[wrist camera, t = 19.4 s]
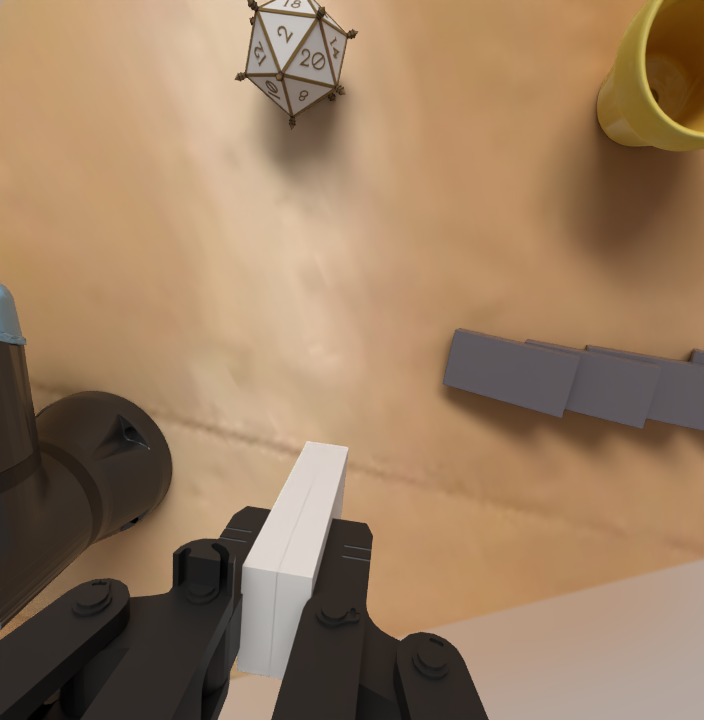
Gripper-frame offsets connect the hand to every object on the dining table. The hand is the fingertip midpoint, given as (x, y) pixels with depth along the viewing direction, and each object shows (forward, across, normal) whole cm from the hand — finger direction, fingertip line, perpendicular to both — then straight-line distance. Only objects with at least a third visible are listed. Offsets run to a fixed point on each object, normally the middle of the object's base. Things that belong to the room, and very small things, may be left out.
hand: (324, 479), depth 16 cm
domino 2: (+26, +14, 0) cm, 29 cm away
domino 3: (+26, +19, 0) cm, 32 cm away
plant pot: (+27, +19, +22) cm, 39 cm away
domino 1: (+26, +7, 0) cm, 27 cm away
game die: (+27, -8, +22) cm, 35 cm away
